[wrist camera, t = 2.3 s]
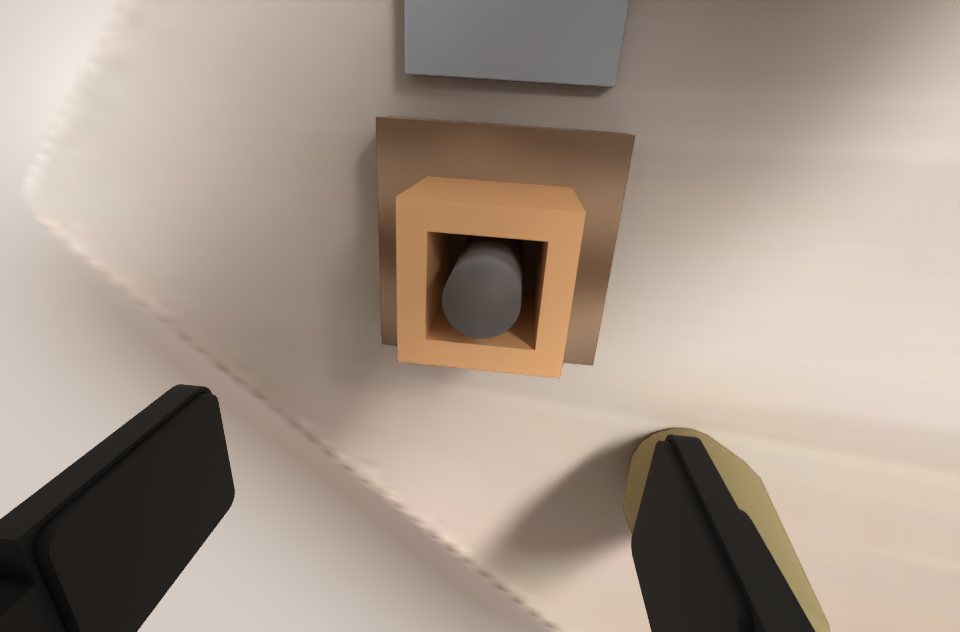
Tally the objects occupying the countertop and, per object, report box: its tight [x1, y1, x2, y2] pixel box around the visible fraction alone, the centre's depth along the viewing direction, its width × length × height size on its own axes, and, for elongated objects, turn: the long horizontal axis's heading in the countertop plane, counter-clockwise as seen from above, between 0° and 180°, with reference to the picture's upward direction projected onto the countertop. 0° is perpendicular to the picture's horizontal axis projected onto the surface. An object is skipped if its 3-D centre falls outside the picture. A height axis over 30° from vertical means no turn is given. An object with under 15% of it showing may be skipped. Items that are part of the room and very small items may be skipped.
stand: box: [376, 117, 635, 365], centre depth 22 cm, size 12×12×10 cm
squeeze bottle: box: [623, 428, 830, 632], centre depth 23 cm, size 8×8×18 cm
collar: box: [396, 176, 586, 378], centre depth 21 cm, size 7×7×6 cm
